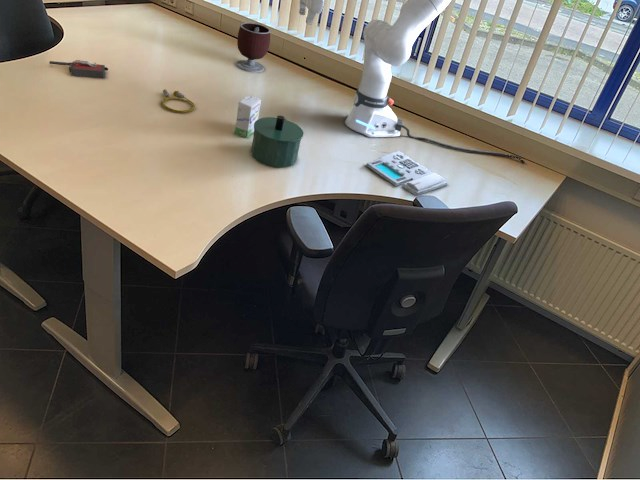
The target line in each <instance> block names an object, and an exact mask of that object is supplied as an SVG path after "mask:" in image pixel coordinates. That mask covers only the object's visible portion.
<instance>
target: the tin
mask: <svg viewBox="0 0 640 480" xmlns="http://www.w3.org/2000/svg"><path fill="white" fill-rule="evenodd" d="M301 142H302V139H300V140H299V141H296V142H288V143H287V142H277V141H273V140H270V139H267V138H265V137H263V136H261V135H260V134H258V133H257V132H256V131H255V129H254V132H253V136H252V142H251V147H250V148H251V149H250V153H251V156H252V158H253V159H254V160H255V161H257V162H258V163H259V164H262V165H264V166H266V167H271V168H277V169H283V168H285V169H286V168H289V167H290V168H291V167H292V166H293V165H295V164H296V163H297V159H298V156H299V152H300V151H299V150H300V147H301Z"/></svg>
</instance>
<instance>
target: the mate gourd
mask: <svg viewBox="0 0 640 480" xmlns="http://www.w3.org/2000/svg"><path fill="white" fill-rule="evenodd" d="M236 44H237V50H238V52H239V53H240V55H242V56H243V57H245V58H246V59H240V60H239V59H238V60H237V61H236V63H235V65H236V67H237V68H238V69H240V70H242V71H245V72H249V73H261V72H263V71H264V69H265V67H264V65H263V64H261V63H259V62H257V61H255V60H260V59H261V60H262V59H263V58H264V57H265V56H266V55H267V53H268V52H269V48H270V44H271V29H270V28H269V27H267V26H266V25H263V24H260V23H256V22H242V23H240V26H239V29H238V33H237V43H236Z"/></svg>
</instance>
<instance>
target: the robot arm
mask: <svg viewBox="0 0 640 480" xmlns="http://www.w3.org/2000/svg"><path fill="white" fill-rule="evenodd" d="M324 2H325V0H299V8H298V9H299V10H298V13H299V15H300V16H306V12H307V9H308V12H307V13H308V14H307V16H306V17H305V24H307V25H310V26H311V25H313V21H314V19H315V17H316V16H317V15H320V14H321V13H322V11H323V8H324V4H325V3H324ZM451 2H452V0H407V1H406V2H404V3H403V4H402V5H401V7H400V9H399V10H400V11H399V15H398V17H397V19H396V20H395V21H394V23H393V24H390V23H389V22H387V21H386V20H385V21H384V20H381V19H373V20H370V21H369V22H368V23H367V24H366V25H365V27H364V28H363V34H362V35H363V41H364V49H363V51H364V54H363V67H362V73H361V76H360V81H359V85H358V87H357V88H356V91H355V94H354V98H353V104H352V107H351V109H350V111H349V113H348V116H347V118H346V119H345V121H344V123H345V125H346V126H347V127H348V129H351V130H353V131H354V132H356V133H360V134H362V135H364V136H366V137H368V138H392V137H400V136H401V131H402V128H403V129H404V130H405V131H406V135H407V136H408V137H409V138H411V139H415V140H417V141H425V142H429V143H432V144H435V145H439V146H442V147H445V148H450V149H454V150H458V151H464V152H469V153H470V152H471V153H478V154H487V155H494V156H502V157H506V158H507V157H508V158H513V159H518V158H519V159H518V160H519V161H520V162H521V163H522V164H526V161H525V160H524V159H523V158H522V157H521V156H518V155H514V154H508V153H505V152H504V153H503V152H496V151H489V150H479V149H471V148H466V147H460V146H454V145H450V144H447V143H443V142H440V141H437V140H433V139H430V138H427V137H420V136H414V135H411V133H410V129H409V128H408V127H407V126H406V125H404V124H403V120H402V119H399V118H398V117H397V115H396V114H395V112H394V111H393V109H392V108H391V107H390V106H393V105H394V103H395V101H394V100H393V99H392V98H390V96H389V95H387V94H388V91H389V89H390V84H391V81H392V77H393V76H392V75H393V74H392V69H391V66H392V67H400V66H402V65H404V64H406V62H408V61H409V59H410V57H411V54H412V48H413V45H414V43H415V42H416V40H417V38H418V37H419V35H420V34H421V33H422V31H424V29H426V28H427V26H428V25H430V23H432V21H434V20H435V19H436V18H437V17H438V16H439V15H440V14H441V13H442V12H443V11H444V10H445V9H446V8H447V7H448V5H449V4H450V3H451ZM306 8H307V9H306ZM505 154H507V155H505ZM509 155H510V156H509ZM512 156H513V157H512ZM515 157H516V158H515ZM520 159H523V160H524V161H523V160H520Z"/></svg>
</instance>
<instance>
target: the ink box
mask: <svg viewBox="0 0 640 480" xmlns="http://www.w3.org/2000/svg"><path fill="white" fill-rule="evenodd" d="M261 102H262V99H260V98H258V97H255V96H252V95H249V94H248V95H247V96H245V97H244V98H242V99H241V100H240V101H239V102H238V106H237V111H236V112H237V113H236V119H235V126H234V127H235V128H234V134H235V135H237V136H240V137H243V138H246V139H247V138H249V137H250V136H251V135H252V134H254V123H255V121H257V120H258V119H259V116H260V110H261V104H262V103H261Z"/></svg>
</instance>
